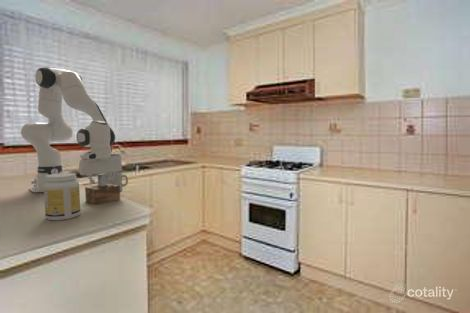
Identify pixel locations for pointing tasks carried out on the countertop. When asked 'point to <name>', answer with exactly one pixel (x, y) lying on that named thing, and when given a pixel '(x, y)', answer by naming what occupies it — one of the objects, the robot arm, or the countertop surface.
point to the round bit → (102, 180)
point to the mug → (117, 179)
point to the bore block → (102, 193)
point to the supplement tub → (61, 196)
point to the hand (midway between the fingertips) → (102, 182)
